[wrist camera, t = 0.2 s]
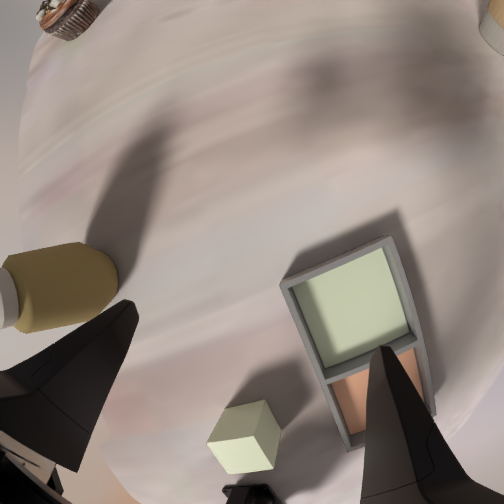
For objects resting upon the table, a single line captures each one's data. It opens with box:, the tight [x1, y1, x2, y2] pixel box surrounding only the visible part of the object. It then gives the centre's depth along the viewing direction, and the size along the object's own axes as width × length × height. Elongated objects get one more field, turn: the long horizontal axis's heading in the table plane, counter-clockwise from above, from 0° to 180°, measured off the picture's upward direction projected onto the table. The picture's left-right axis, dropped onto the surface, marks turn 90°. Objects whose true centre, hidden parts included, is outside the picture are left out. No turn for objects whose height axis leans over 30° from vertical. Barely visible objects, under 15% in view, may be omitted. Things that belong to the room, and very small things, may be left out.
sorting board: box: [279, 236, 436, 452], centre depth 21 cm, size 18×10×2 cm, turn 24°
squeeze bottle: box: [0, 242, 118, 334], centre depth 19 cm, size 8×8×18 cm
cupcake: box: [36, 0, 99, 41], centre depth 23 cm, size 10×10×10 cm
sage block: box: [206, 399, 281, 474], centre depth 22 cm, size 4×4×6 cm
